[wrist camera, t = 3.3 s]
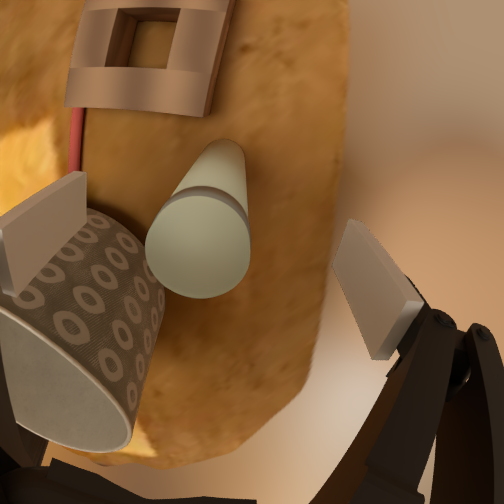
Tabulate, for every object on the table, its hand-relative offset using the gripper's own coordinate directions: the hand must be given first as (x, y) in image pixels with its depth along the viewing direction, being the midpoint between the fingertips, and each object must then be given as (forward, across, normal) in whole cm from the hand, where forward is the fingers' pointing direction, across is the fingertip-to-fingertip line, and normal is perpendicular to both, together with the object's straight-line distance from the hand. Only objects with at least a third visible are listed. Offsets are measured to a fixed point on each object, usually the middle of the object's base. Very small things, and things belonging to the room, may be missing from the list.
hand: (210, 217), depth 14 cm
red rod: (+14, -15, +1) cm, 21 cm away
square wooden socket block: (+15, -8, +10) cm, 20 cm away
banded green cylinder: (+15, 0, 0) cm, 15 cm away
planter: (+15, -13, -15) cm, 25 cm away
